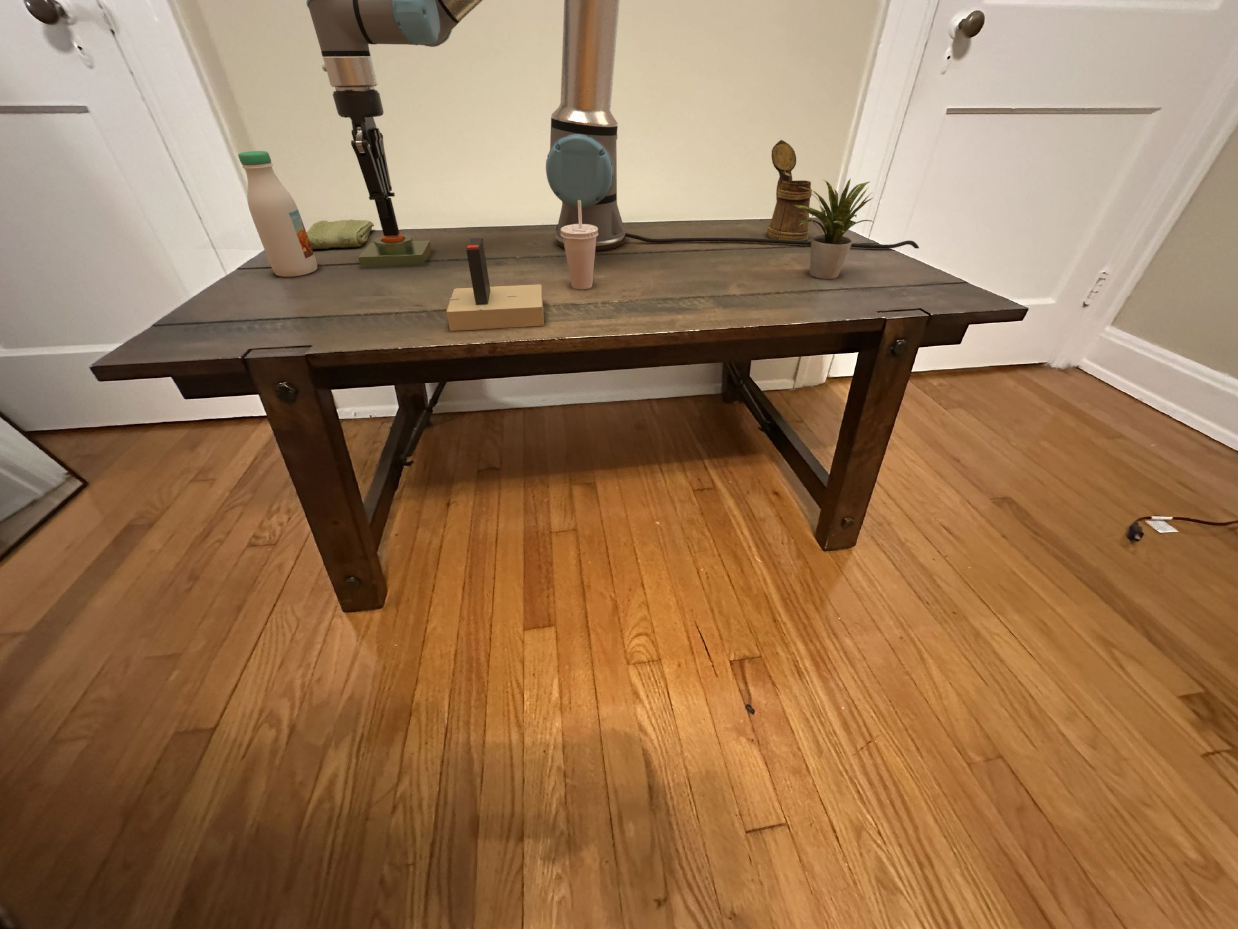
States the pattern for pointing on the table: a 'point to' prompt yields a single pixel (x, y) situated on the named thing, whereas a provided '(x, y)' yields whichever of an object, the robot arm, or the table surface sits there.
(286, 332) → the table surface
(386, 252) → the switch block
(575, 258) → the smoothie
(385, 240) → the button
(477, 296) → the black rectangular block
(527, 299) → the tan wooden block
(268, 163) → the milk bottle
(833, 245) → the house plant
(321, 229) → the washcloth
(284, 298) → the table surface
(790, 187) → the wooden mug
